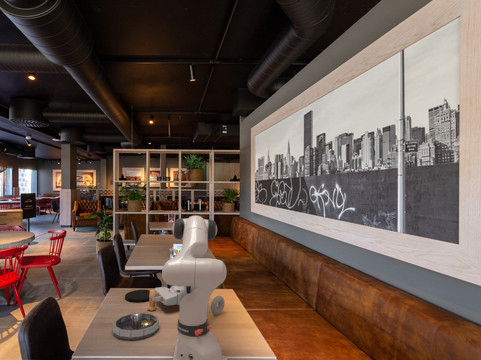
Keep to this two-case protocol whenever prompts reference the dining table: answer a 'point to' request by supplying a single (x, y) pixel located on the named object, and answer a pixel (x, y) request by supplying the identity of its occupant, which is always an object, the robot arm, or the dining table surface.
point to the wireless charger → (138, 296)
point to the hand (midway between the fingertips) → (150, 297)
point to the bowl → (135, 326)
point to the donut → (220, 302)
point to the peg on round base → (152, 303)
